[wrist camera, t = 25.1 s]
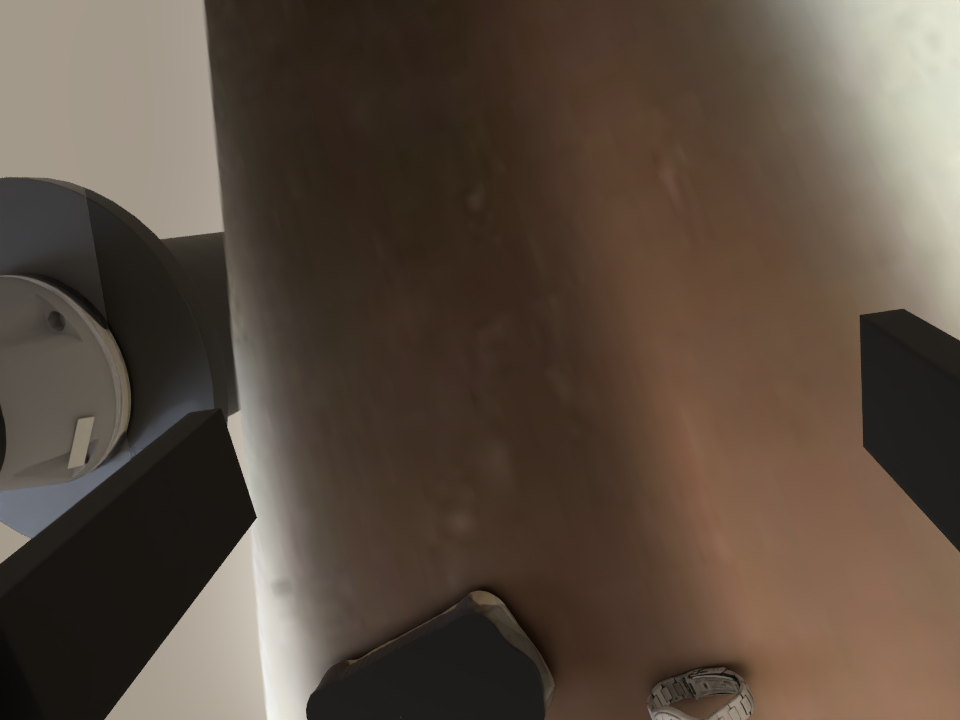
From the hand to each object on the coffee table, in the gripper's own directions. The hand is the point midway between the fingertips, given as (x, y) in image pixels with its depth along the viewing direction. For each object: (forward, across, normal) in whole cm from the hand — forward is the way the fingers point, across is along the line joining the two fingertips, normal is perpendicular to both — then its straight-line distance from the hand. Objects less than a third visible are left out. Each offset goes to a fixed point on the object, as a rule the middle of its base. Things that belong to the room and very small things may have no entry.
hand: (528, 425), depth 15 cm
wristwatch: (+23, +5, -28) cm, 37 cm away
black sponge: (+25, -12, -28) cm, 40 cm away
